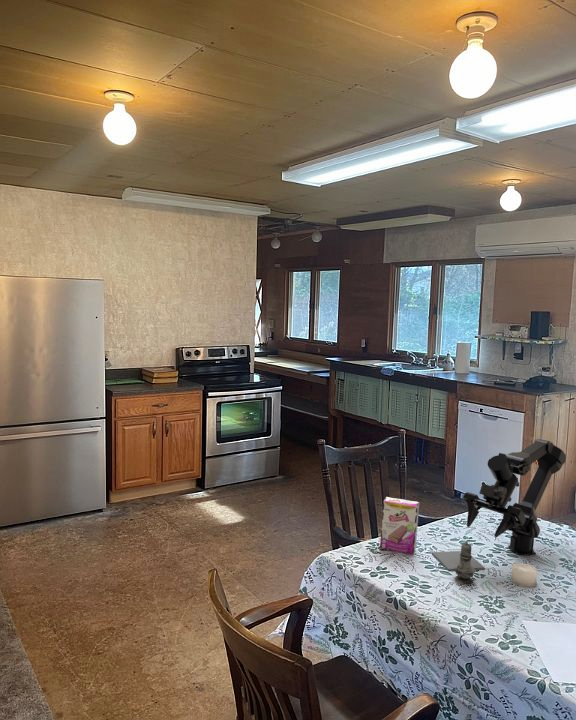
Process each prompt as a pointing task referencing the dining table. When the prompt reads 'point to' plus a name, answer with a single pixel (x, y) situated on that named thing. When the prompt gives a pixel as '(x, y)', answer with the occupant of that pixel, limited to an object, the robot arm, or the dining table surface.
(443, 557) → the mat
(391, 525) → the candy bar box
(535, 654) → the dining table surface
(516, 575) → the cream rounded squat cylinder
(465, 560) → the grey chess piece
